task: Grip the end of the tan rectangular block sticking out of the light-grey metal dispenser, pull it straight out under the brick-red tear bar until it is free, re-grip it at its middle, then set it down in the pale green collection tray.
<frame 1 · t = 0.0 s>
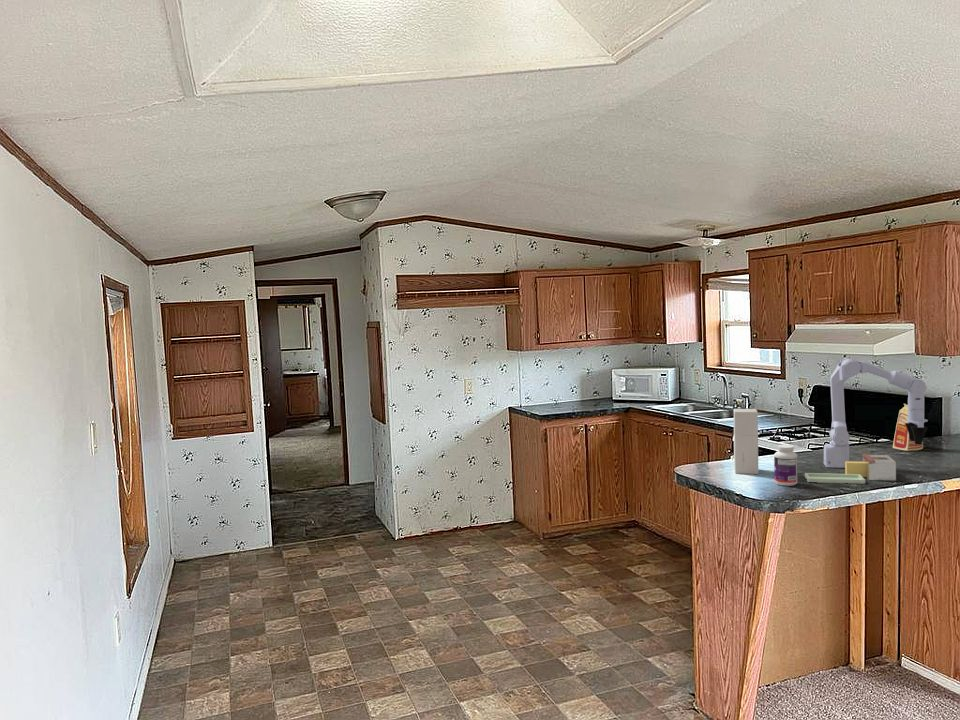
hand: (915, 442, 309), 10 cm above the countertop, fingers open, 7 cm apart
tan rectangular block: (862, 476, 299), on the countertop
tray: (834, 480, 294), on the countertop
pill bottle: (785, 484, 291), on the countertop
dispenser: (878, 476, 297), on the countertop
milk carton: (908, 449, 346), on the countertop
tall white carton: (746, 471, 314), on the countertop
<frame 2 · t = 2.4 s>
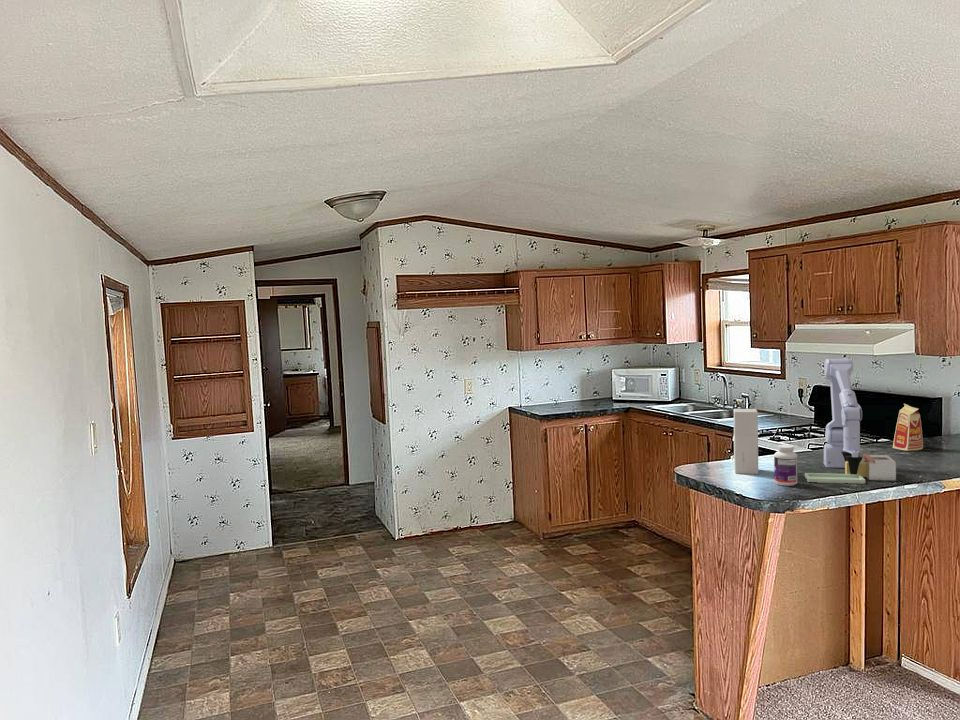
hand: (851, 472, 300), 1 cm above the countertop, fingers open, 7 cm apart
nothing on the countertop moved.
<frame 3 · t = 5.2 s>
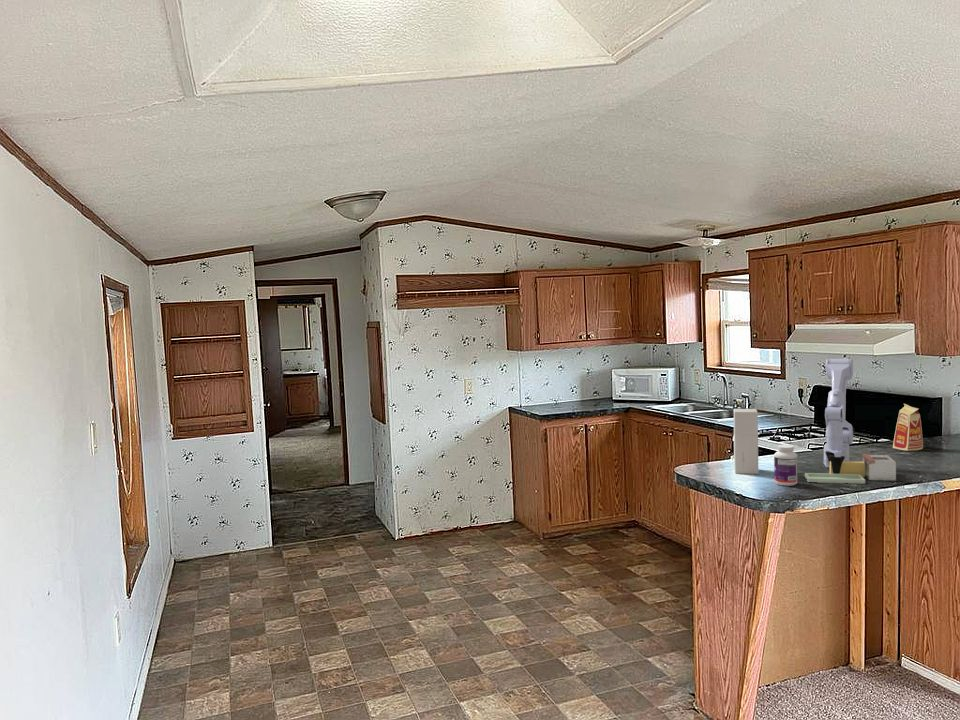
hand: (834, 471, 301), 1 cm above the countertop, fingers open, 6 cm apart
tan rectangular block: (847, 476, 300), on the countertop
everything else where it was.
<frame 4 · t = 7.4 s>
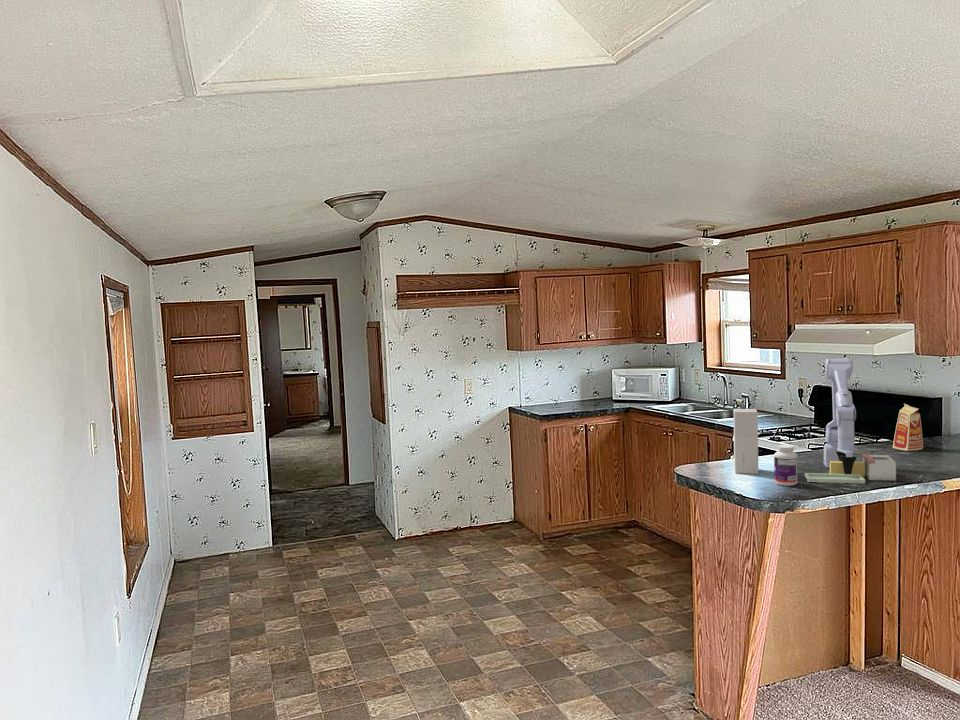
hand: (846, 472, 300), 1 cm above the countertop, fingers open, 7 cm apart
nothing on the countertop moved.
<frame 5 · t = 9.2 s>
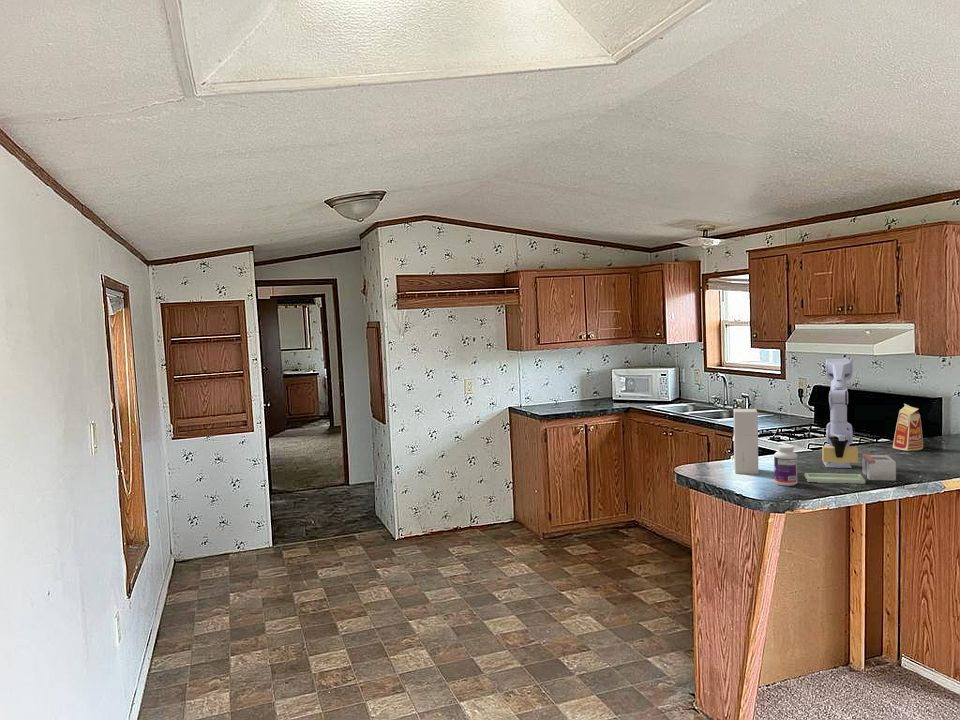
hand: (838, 456, 295), 9 cm above the countertop, fingers closed on tan rectangular block, 3 cm apart
tan rectangular block: (839, 461, 295), point 7 cm above the countertop, touching gripper
everything else where it was.
when the fingers open (3 cm above the countertop, at t = 10.7 s): tan rectangular block stays where it is, resting on tray.
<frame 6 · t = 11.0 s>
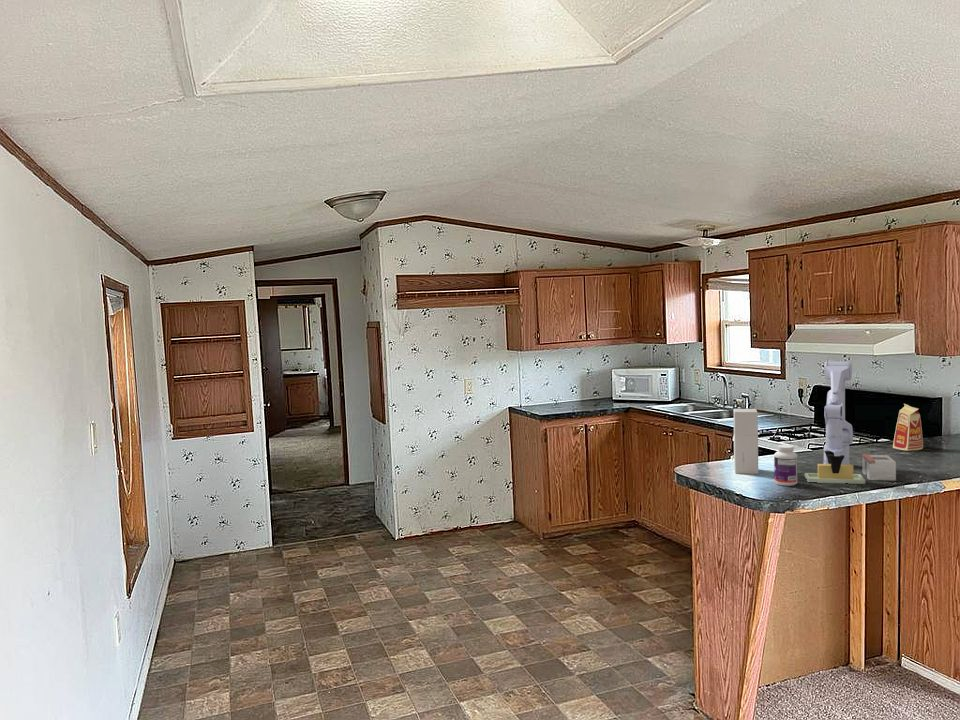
hand: (834, 471, 293), 3 cm above the countertop, fingers open, 5 cm apart
tan rectangular block: (835, 479, 294), resting on tray
everything else where it was.
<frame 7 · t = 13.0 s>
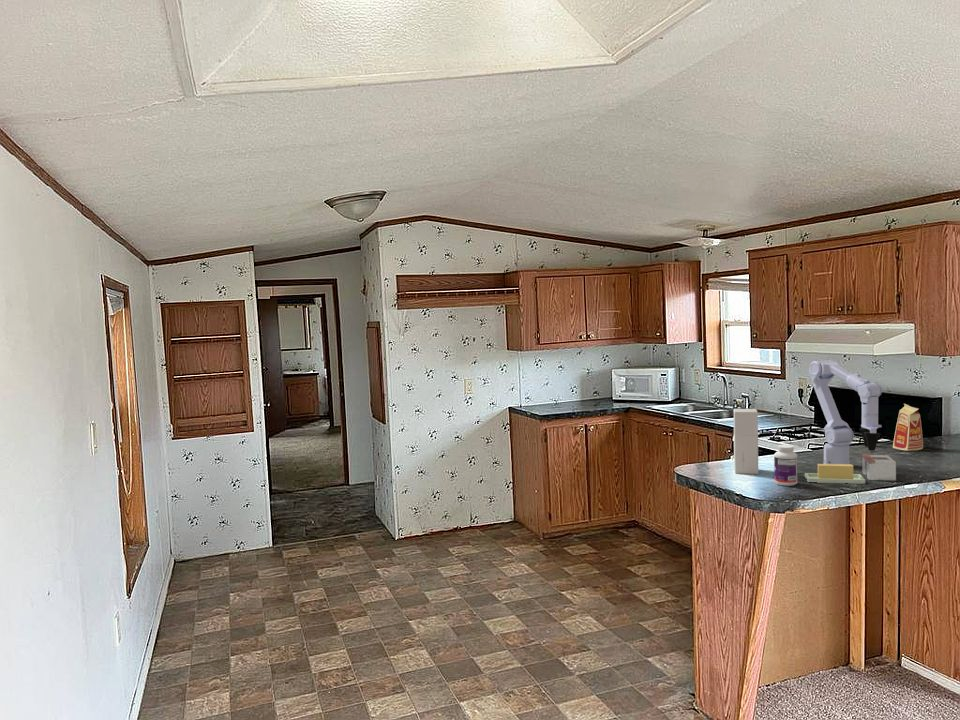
hand: (869, 448, 302), 10 cm above the countertop, fingers open, 7 cm apart
nothing on the countertop moved.
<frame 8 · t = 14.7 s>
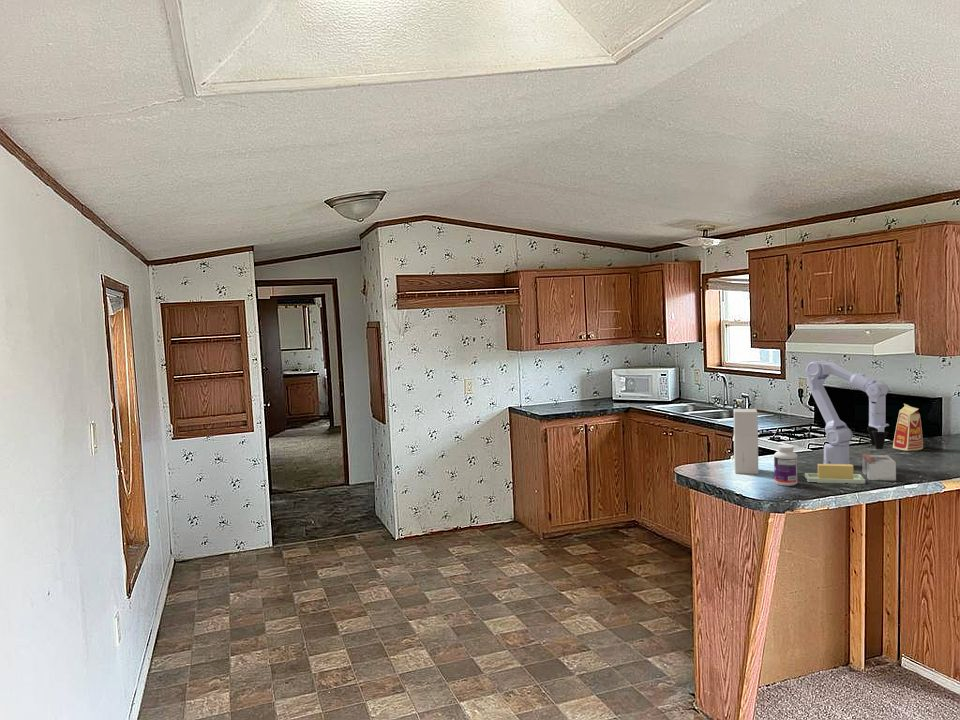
hand: (877, 447, 303), 10 cm above the countertop, fingers open, 7 cm apart
nothing on the countertop moved.
at the end: tan rectangular block inside the target area on the tray (0.4 cm from its centre), point 0.4 cm above the tray's base; the gripper is holding nothing; tan rectangular block touching tray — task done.
